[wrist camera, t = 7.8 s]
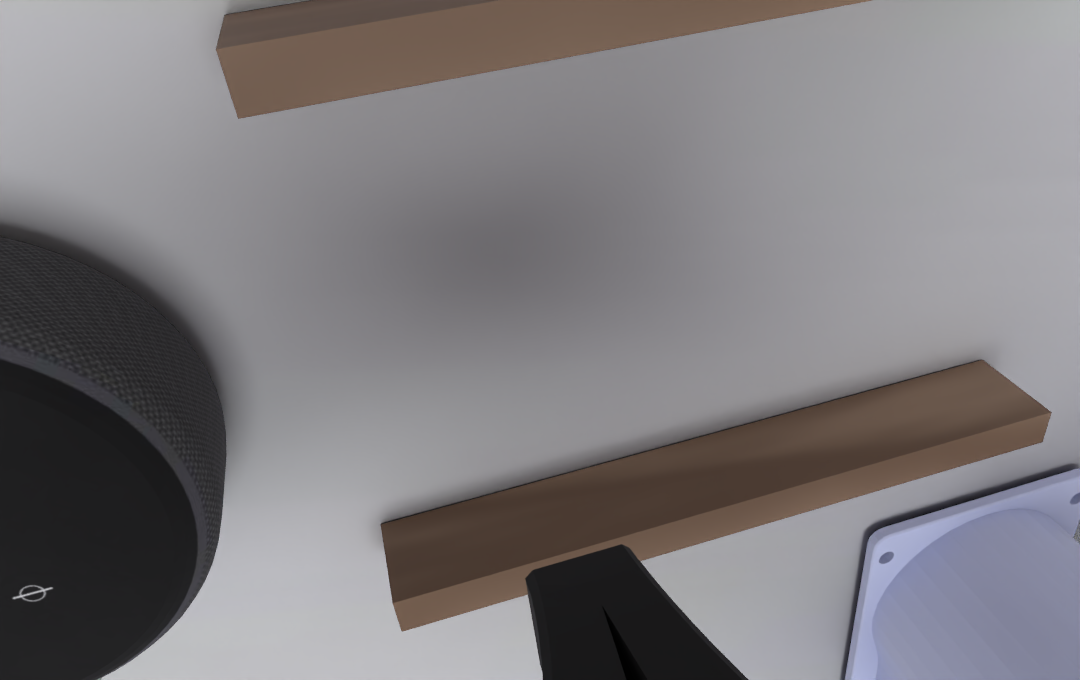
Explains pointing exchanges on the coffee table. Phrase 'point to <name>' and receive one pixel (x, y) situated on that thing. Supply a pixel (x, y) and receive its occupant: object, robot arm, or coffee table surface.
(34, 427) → the smart speaker
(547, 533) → the chute
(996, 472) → the coffee table surface
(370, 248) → the coffee table surface
